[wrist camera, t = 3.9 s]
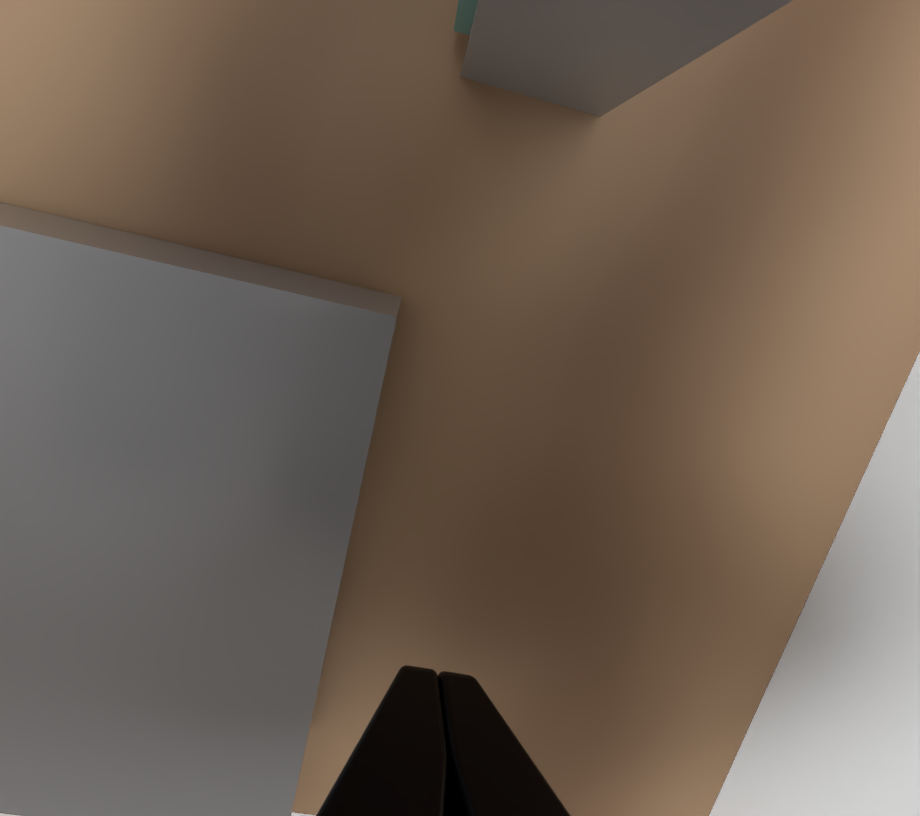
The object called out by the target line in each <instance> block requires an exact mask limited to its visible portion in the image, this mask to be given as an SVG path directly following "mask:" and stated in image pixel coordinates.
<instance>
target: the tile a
mask: <svg viewBox="0 0 920 816" xmlns="http://www.w3.org/2000/svg"><path fill="white" fill-rule="evenodd" d="M401 299H402V297H401V296H397V295H393V294H389V293H384V292H380V291H376V290H372V289H367V288H363V287H359V286H355V285H350V284H346V283H342V282H338V281H333V280H329V279H325V278H321V277H316V276H312V275H308V274H304V273H299V272H295V271H291V270H287V269H282V268H278V267H274V266H270V265H265V264H261V263H257V262H253V261H248V260H244V259H240V258H236V257H231V256H227V255H223V254H219V253H214V252H210V251H206V250H202V249H197V248H193V247H189V246H185V245H180V244H176V243H172V242H168V241H163V240H159V239H155V238H151V237H146V236H142V235H138V234H134V233H129V232H125V231H121V230H117V229H112V228H108V227H104V226H99V225H95V224H91V223H87V222H82V221H78V220H74V219H70V218H65V217H61V216H57V215H53V214H48V213H44V212H40V211H36V210H31V209H27V208H23V207H19V206H14V205H10V204H6V203H2V202H0V813H5V814H13V815H21V816H291V813H292V808H293V804H294V799H295V795H296V790H297V786H298V781H299V777H300V772H301V768H302V763H303V759H304V754H305V750H306V745H307V741H308V736H309V732H310V727H311V722H312V717H313V713H314V708H315V703H316V699H317V694H318V689H319V685H320V680H321V675H322V670H323V666H324V661H325V656H326V652H327V647H328V642H329V638H330V633H331V628H332V623H333V619H334V614H335V609H336V605H337V600H338V595H339V591H340V586H341V581H342V576H343V572H344V567H345V562H346V558H347V553H348V548H349V544H350V539H351V534H352V529H353V525H354V520H355V515H356V511H357V506H358V501H359V497H360V492H361V487H362V482H363V478H364V473H365V468H366V464H367V459H368V454H369V450H370V445H371V440H372V435H373V431H374V426H375V421H376V417H377V412H378V407H379V403H380V398H381V393H382V389H383V384H384V379H385V374H386V370H387V365H388V360H389V356H390V351H391V346H392V342H393V337H394V332H395V327H396V323H397V318H398V313H399V309H400V304H401Z"/></svg>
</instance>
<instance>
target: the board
mask: <svg viewBox="0 0 920 816" xmlns="http://www.w3.org/2000/svg"><path fill="white" fill-rule="evenodd" d="M457 6H458V0H0V202H2V203H6V204H10V205H14V206H19V207H23V208H27V209H31V210H36V211H40V212H44V213H48V214H53V215H57V216H61V217H65V218H70V219H74V220H78V221H82V222H87V223H91V224H95V225H99V226H104V227H108V228H112V229H117V230H121V231H125V232H129V233H134V234H138V235H142V236H146V237H151V238H155V239H159V240H163V241H168V242H172V243H176V244H180V245H185V246H189V247H193V248H197V249H202V250H206V251H210V252H214V253H219V254H223V255H227V256H231V257H236V258H240V259H244V260H248V261H253V262H257V263H261V264H265V265H270V266H274V267H278V268H282V269H287V270H291V271H295V272H299V273H304V274H308V275H312V276H316V277H321V278H325V279H329V280H333V281H338V282H342V283H346V284H350V285H355V286H359V287H363V288H367V289H372V290H376V291H380V292H384V293H389V294H393V295H397V296H401V297H402V299H401V304H400V309H399V313H398V318H397V323H396V327H395V332H394V337H393V342H392V346H391V351H390V356H389V360H388V365H387V370H386V374H385V379H384V384H383V389H382V393H381V398H380V403H379V407H378V412H377V417H376V421H375V426H374V431H373V435H372V440H371V445H370V450H369V454H368V459H367V464H366V468H365V473H364V478H363V482H362V487H361V492H360V497H359V501H358V506H357V511H356V515H355V520H354V525H353V529H352V534H351V539H350V544H349V548H348V553H347V558H346V562H345V567H344V572H343V576H342V581H341V586H340V591H339V595H338V600H337V605H336V609H335V614H334V619H333V623H332V628H331V633H330V638H329V642H328V647H327V652H326V656H325V661H324V666H323V670H322V675H321V680H320V685H319V689H318V694H317V699H316V703H315V708H314V713H313V717H312V722H311V727H310V732H309V736H308V741H307V745H306V750H305V754H304V759H303V763H302V768H301V772H300V777H299V781H298V786H297V790H296V795H295V799H294V804H293V808H292V812H295V813H303V814H311V815H317V813H318V811H319V810H320V808H321V806H322V804H323V803H324V801H325V799H326V797H327V796H328V794H329V792H330V790H331V789H332V787H333V785H334V783H335V782H336V780H337V778H338V776H339V775H340V773H341V771H342V769H343V768H344V766H345V764H346V762H347V761H348V759H349V757H350V755H351V754H352V752H353V750H354V748H355V747H356V745H357V743H358V741H359V740H360V738H361V736H362V734H363V733H364V731H365V729H366V727H367V725H368V724H369V722H370V720H371V718H372V717H373V715H374V713H375V711H376V710H377V708H378V706H379V704H380V703H381V701H382V699H383V697H384V696H385V694H386V692H387V690H388V689H389V687H390V685H391V683H392V682H393V680H394V678H395V676H396V675H397V673H398V671H399V669H400V668H401V667H402V666H405V665H410V666H416V667H423V668H429V669H433V670H434V671H435V672H436V673H437V675H438V674H439V673H440V672H442V671H448V672H454V673H461V674H467V675H471V676H473V677H474V678H475V679H476V680H477V681H478V682H479V684H480V685H481V687H482V688H483V689H484V691H485V692H486V694H487V695H488V697H489V698H490V700H491V701H492V702H493V704H494V705H495V707H496V708H497V710H498V711H499V713H500V714H501V716H502V717H503V718H504V720H505V721H506V723H507V724H508V726H509V727H510V729H511V730H512V731H513V733H514V734H515V736H516V737H517V739H518V740H519V742H520V743H521V744H522V746H523V747H524V749H525V750H526V752H527V753H528V755H529V756H530V758H531V759H532V760H533V762H534V763H535V765H536V766H537V768H538V769H539V771H540V772H541V773H542V775H543V776H544V778H545V779H546V781H547V782H548V784H549V785H550V786H551V788H552V789H553V791H554V792H555V794H556V795H557V797H558V798H559V799H560V801H561V802H562V804H563V805H564V807H565V808H566V810H567V811H568V813H569V814H570V815H571V816H709V814H710V812H711V810H712V807H713V805H714V803H715V801H716V799H717V796H718V794H719V792H720V790H721V788H722V785H723V783H724V781H725V779H726V776H727V774H728V772H729V770H730V768H731V765H732V763H733V761H734V759H735V757H736V754H737V752H738V750H739V748H740V746H741V743H742V741H743V739H744V737H745V735H746V732H747V730H748V728H749V726H750V724H751V721H752V719H753V717H754V715H755V713H756V710H757V708H758V706H759V704H760V702H761V699H762V697H763V695H764V693H765V691H766V688H767V686H768V684H769V682H770V680H771V677H772V675H773V673H774V671H775V669H776V666H777V664H778V662H779V660H780V658H781V655H782V653H783V651H784V649H785V647H786V644H787V642H788V640H789V638H790V636H791V633H792V631H793V629H794V627H795V625H796V622H797V620H798V618H799V616H800V614H801V611H802V609H803V607H804V605H805V602H806V600H807V598H808V596H809V594H810V591H811V589H812V587H813V585H814V583H815V580H816V578H817V576H818V574H819V572H820V569H821V567H822V565H823V563H824V561H825V558H826V556H827V554H828V552H829V550H830V547H831V545H832V543H833V541H834V539H835V536H836V534H837V532H838V530H839V528H840V525H841V523H842V521H843V519H844V517H845V514H846V512H847V510H848V508H849V506H850V503H851V501H852V499H853V497H854V495H855V492H856V490H857V488H858V486H859V484H860V481H861V479H862V477H863V475H864V473H865V470H866V468H867V466H868V464H869V462H870V459H871V457H872V455H873V453H874V451H875V448H876V446H877V444H878V442H879V440H880V437H881V435H882V433H883V431H884V428H885V426H886V424H887V422H888V420H889V417H890V415H891V413H892V411H893V409H894V406H895V404H896V402H897V400H898V398H899V395H900V393H901V391H902V389H903V387H904V384H905V382H906V380H907V378H908V376H909V373H910V371H911V369H912V367H913V365H914V362H915V360H916V358H917V356H918V354H919V351H920V0H793V1H791V2H790V3H788V4H786V5H785V6H783V7H781V8H780V9H778V10H776V11H775V12H773V13H771V14H770V15H768V16H766V17H765V18H763V19H761V20H760V21H758V22H756V23H755V24H753V25H751V26H750V27H748V28H747V29H745V30H743V31H742V32H740V33H738V34H737V35H735V36H733V37H732V38H730V39H728V40H727V41H725V42H723V43H722V44H720V45H718V46H717V47H715V48H713V49H712V50H710V51H708V52H707V53H705V54H704V55H702V56H700V57H699V58H697V59H695V60H694V61H692V62H690V63H689V64H687V65H685V66H684V67H682V68H680V69H679V70H677V71H675V72H674V73H672V74H670V75H669V76H667V77H665V78H664V79H662V80H660V81H659V82H657V83H656V84H654V85H652V86H651V87H649V88H647V89H646V90H644V91H642V92H641V93H639V94H637V95H636V96H634V97H632V98H631V99H629V100H627V101H626V102H624V103H622V104H621V105H619V106H617V107H616V108H614V109H613V110H611V111H609V112H608V113H606V114H604V115H603V116H601V117H600V116H596V115H592V114H589V113H585V112H582V111H578V110H575V109H571V108H568V107H564V106H561V105H557V104H554V103H550V102H547V101H543V100H540V99H536V98H533V97H529V96H526V95H522V94H518V93H515V92H511V91H508V90H504V89H501V88H497V87H494V86H490V85H487V84H483V83H480V82H476V81H473V80H469V79H466V78H462V77H460V73H461V68H462V64H463V59H464V55H465V50H466V45H467V41H468V36H469V35H467V34H463V33H460V32H457V31H454V25H455V19H456V12H457Z"/></svg>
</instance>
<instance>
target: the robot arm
mask: <svg viewBox="0 0 920 816" xmlns="http://www.w3.org/2000/svg"><path fill="white" fill-rule="evenodd" d="M316 816H571V815H570V814H569V813H568V811H567V810H566V808H565V807H564V805H563V804H562V802H561V801H560V799H559V798H558V797H557V795H556V794H555V792H554V791H553V789H552V788H551V786H550V785H549V784H548V782H547V781H546V779H545V778H544V776H543V775H542V773H541V772H540V771H539V769H538V768H537V766H536V765H535V763H534V762H533V760H532V759H531V758H530V756H529V755H528V753H527V752H526V750H525V749H524V747H523V746H522V744H521V743H520V742H519V740H518V739H517V737H516V736H515V734H514V733H513V731H512V730H511V729H510V727H509V726H508V724H507V723H506V721H505V720H504V718H503V717H502V716H501V714H500V713H499V711H498V710H497V708H496V707H495V705H494V704H493V702H492V701H491V700H490V698H489V697H488V695H487V694H486V692H485V691H484V689H483V688H482V687H481V685H480V684H479V682H478V681H477V680H476V679H475V678H474V677H473V676H471V675H467V674H461V673H454V672H448V671H442V672H440V673H439V674H438V675H437V673H436V672H435V671H434V670H433V669H429V668H423V667H416V666H410V665H405V666H402V667H401V668H400V669H399V671H398V673H397V675H396V676H395V678H394V680H393V682H392V683H391V685H390V687H389V689H388V690H387V692H386V694H385V696H384V697H383V699H382V701H381V703H380V704H379V706H378V708H377V710H376V711H375V713H374V715H373V717H372V718H371V720H370V722H369V724H368V725H367V727H366V729H365V731H364V733H363V734H362V736H361V738H360V740H359V741H358V743H357V745H356V747H355V748H354V750H353V752H352V754H351V755H350V757H349V759H348V761H347V762H346V764H345V766H344V768H343V769H342V771H341V773H340V775H339V776H338V778H337V780H336V782H335V783H334V785H333V787H332V789H331V790H330V792H329V794H328V796H327V797H326V799H325V801H324V803H323V804H322V806H321V808H320V810H319V811H318V813H317V815H316Z"/></svg>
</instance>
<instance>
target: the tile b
mask: <svg viewBox="0 0 920 816" xmlns="http://www.w3.org/2000/svg"><path fill="white" fill-rule="evenodd" d="M791 1H793V0H458V6H457V12H456V19H455V25H454V31H457V32H460V33H463V34H467V35H469V36H468V41H467V45H466V50H465V55H464V59H463V64H462V68H461V73H460V77H462V78H466V79H469V80H473V81H476V82H480V83H483V84H487V85H490V86H494V87H497V88H501V89H504V90H508V91H511V92H515V93H518V94H522V95H526V96H529V97H533V98H536V99H540V100H543V101H547V102H550V103H554V104H557V105H561V106H564V107H568V108H571V109H575V110H578V111H582V112H585V113H589V114H592V115H596V116H600V117H601V116H603V115H604V114H606V113H608V112H609V111H611V110H613V109H614V108H616V107H617V106H619V105H621V104H622V103H624V102H626V101H627V100H629V99H631V98H632V97H634V96H636V95H637V94H639V93H641V92H642V91H644V90H646V89H647V88H649V87H651V86H652V85H654V84H656V83H657V82H659V81H660V80H662V79H664V78H665V77H667V76H669V75H670V74H672V73H674V72H675V71H677V70H679V69H680V68H682V67H684V66H685V65H687V64H689V63H690V62H692V61H694V60H695V59H697V58H699V57H700V56H702V55H704V54H705V53H707V52H708V51H710V50H712V49H713V48H715V47H717V46H718V45H720V44H722V43H723V42H725V41H727V40H728V39H730V38H732V37H733V36H735V35H737V34H738V33H740V32H742V31H743V30H745V29H747V28H748V27H750V26H751V25H753V24H755V23H756V22H758V21H760V20H761V19H763V18H765V17H766V16H768V15H770V14H771V13H773V12H775V11H776V10H778V9H780V8H781V7H783V6H785V5H786V4H788V3H790V2H791Z"/></svg>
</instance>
